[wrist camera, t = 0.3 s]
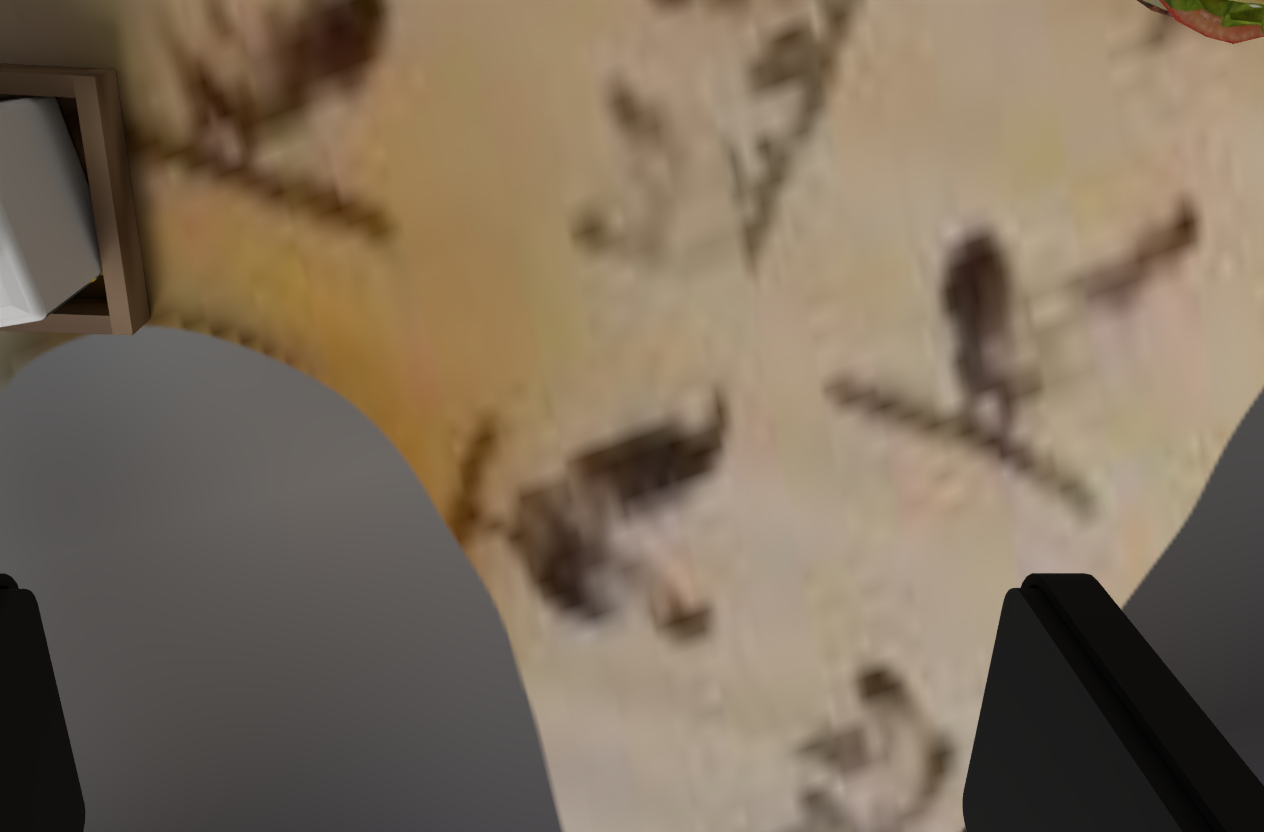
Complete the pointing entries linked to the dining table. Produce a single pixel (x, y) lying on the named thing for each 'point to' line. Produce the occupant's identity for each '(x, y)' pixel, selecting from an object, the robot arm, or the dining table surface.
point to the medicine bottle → (42, 213)
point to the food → (1216, 17)
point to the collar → (95, 199)
